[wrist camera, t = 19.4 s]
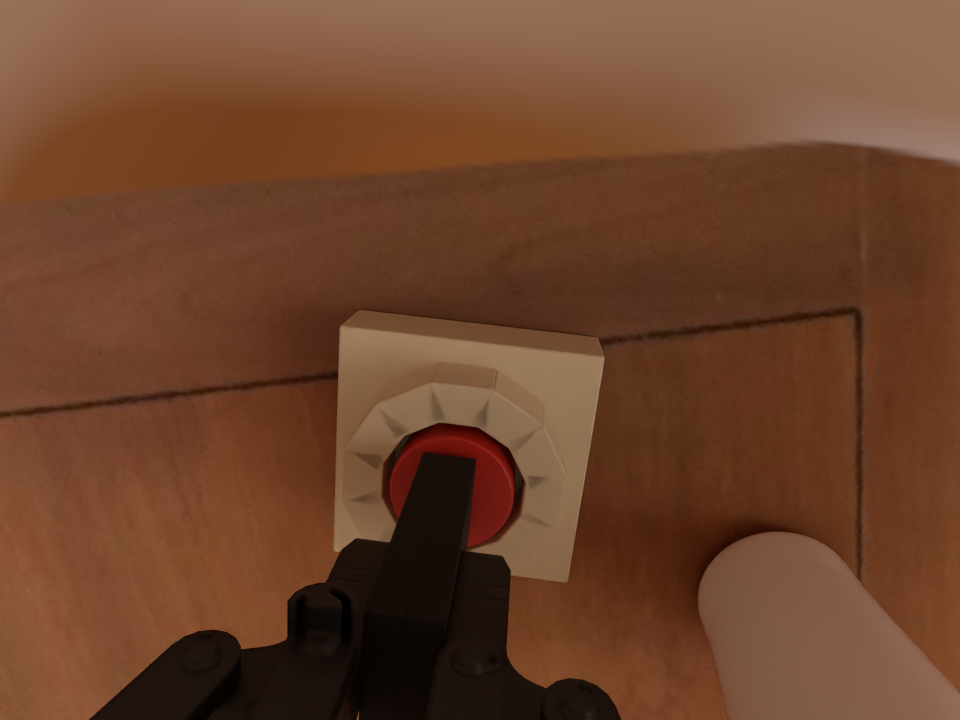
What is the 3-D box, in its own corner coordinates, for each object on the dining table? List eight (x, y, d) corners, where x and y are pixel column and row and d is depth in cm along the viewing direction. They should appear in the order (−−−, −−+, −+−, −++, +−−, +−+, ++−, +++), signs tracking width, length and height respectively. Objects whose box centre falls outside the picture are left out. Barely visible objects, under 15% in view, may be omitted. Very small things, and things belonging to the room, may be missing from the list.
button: (522, 421, 19) (520, 446, 18) (508, 523, 21) (506, 556, 19) (404, 406, 20) (392, 429, 18) (398, 509, 21) (385, 540, 19)
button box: (598, 336, 21) (612, 377, 17) (565, 545, 23) (570, 621, 20) (358, 308, 21) (319, 342, 18) (350, 517, 24) (314, 586, 20)
